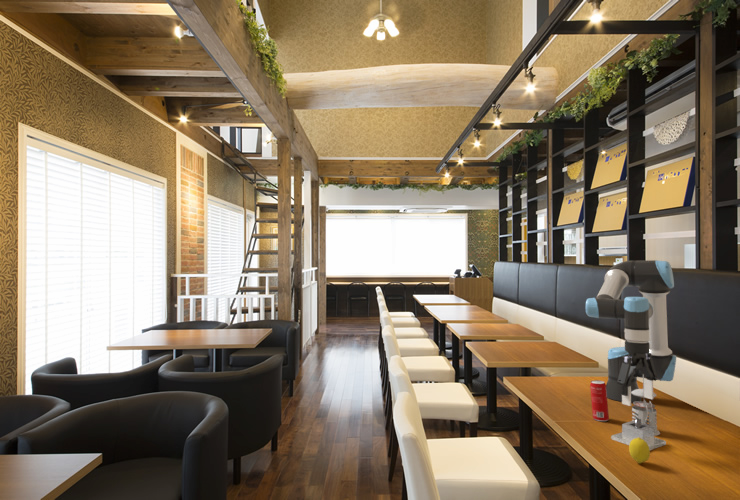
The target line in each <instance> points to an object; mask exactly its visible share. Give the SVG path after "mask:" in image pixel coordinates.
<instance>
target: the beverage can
mask: <svg viewBox="0 0 740 500" xmlns="http://www.w3.org/2000/svg"><path fill="white" fill-rule="evenodd" d="M606 384H607V383H606V382H605V380H604V381H603V380H595V379H594V380H591V381H590V384H589V387H590V397H591V398H590V399H591V411H592V419H593V420H595V421H598V422H607V421H609V420H610V417H609V404H608V403H609V402H608V398H607V390H606Z"/></svg>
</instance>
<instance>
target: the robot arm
mask: <svg viewBox="0 0 740 500" xmlns="http://www.w3.org/2000/svg"><path fill="white" fill-rule="evenodd" d="M672 269H673V268H672V265H671V264H670V262H668V261H666V260H658V259H656V260H655V259H654V260H653V259H651V260H649V259H648V260H625V261H621V262H618V263H617V264H615V265H614V266H612V267H610V268H609V269H608V270H607V271H606V273H605V275H604V278H603V279H604V282H603V284H602V286H601V288H600V290H599V292H598V294H597V295H596V297H589V298H586V301H585V313H586V315H587V316H588V317H590V318H596V319H609V320H610V319H612V320H624V330H623V332H624V339H625V341H624V346H618V347H617V346H616V347H611V348H609V349H608V352H607V382H606V383H605V384H606V390H607V399H611V400H613V401H616V402H621V405H624V406H628V407H632V403H633V402H637V401H641V402H642V397H638V396H635V395H633V394H632V393H631V392H632V391H634V390H636V389H640V387H639V385H638V379H637V378H640V379H641V378H642V379H643V374H644V397H645V398H644V399H649V400H654V397H653V393H654V381H655V382H656V381H660V382H672V381H673V380H674V377H675V371H676V364H677V355H675V354H673V350H671V348H669V344H668V343H669V342H668V317H667V315H668V313H667V295H668V294H670V292H671V289H673V288H674V287H675V281H674V273H673V270H672ZM626 287H636V288H637V287H638V292H639V293H640V294H641V295H642V296H626V297H625V298H623V299H619V298H621V294H622V293H623V291H624V289H625V288H626Z"/></svg>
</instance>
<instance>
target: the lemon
mask: <svg viewBox="0 0 740 500" xmlns="http://www.w3.org/2000/svg"><path fill="white" fill-rule="evenodd" d="M628 451H629V454H630V457H631V458H632V459H633V460H634V461H636V462H637V464H642V463H646V462H647V461H648V460H649V459H650V456H651V455H650V454H651V450H649V446H648V444H647V443H646V442H645V441H644V440H643V439H641V438H640V437H638V438H635V439H633V440H632V441H631V442H630V445H628Z"/></svg>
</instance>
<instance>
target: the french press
mask: <svg viewBox="0 0 740 500" xmlns="http://www.w3.org/2000/svg"><path fill="white" fill-rule="evenodd" d="M644 379H645V378H644V374H643V378H642V388H639V389H636V390H634V391H632V392H631V393H632V394H633V395H635V396H638V397H641V398H643V401H642V400H641V401H637V402H632V404H633V405H631V413H632V416H631V419H632V420H631V421H635V419H641V423H643V424H646V425H649V426H653V427H654V437H656V436H659V435H661V432H660V431H659V430H658V425H657V424H658V422H657V421H658V420H657V419H658V418H657V409H656V405H655V404H653V403H652V401H651V400H649V402H647V401H646V400H645V399H646V398H645V397H644ZM655 397H657V394H656V393H655V392H653V398H655Z"/></svg>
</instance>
